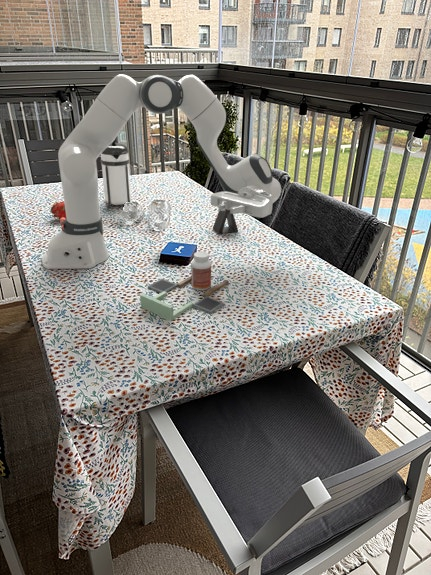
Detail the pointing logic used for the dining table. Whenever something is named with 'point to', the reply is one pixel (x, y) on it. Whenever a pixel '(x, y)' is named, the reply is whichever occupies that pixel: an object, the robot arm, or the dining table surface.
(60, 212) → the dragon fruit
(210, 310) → the trap pits
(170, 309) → the light green u-shaped piece
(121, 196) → the coffee press
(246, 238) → the dining table surface
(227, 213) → the phone stand
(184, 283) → the walnut track
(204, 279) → the pill bottle
